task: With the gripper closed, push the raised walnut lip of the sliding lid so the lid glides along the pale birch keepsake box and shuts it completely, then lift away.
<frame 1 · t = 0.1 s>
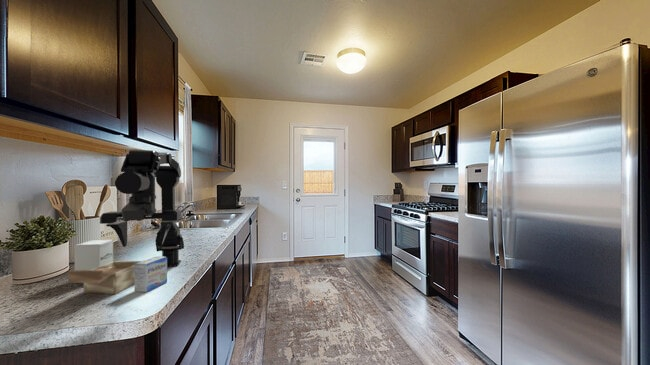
hand: (143, 245, 73), 15 cm above the countertop, fingers open, 9 cm apart
lid: (99, 271, 74), point 7 cm above the countertop, slide at 5.0 cm
medicine box: (151, 287, 79), on the countertop
birch box: (116, 285, 80), on the countertop
supplement box: (94, 279, 86), on the countertop
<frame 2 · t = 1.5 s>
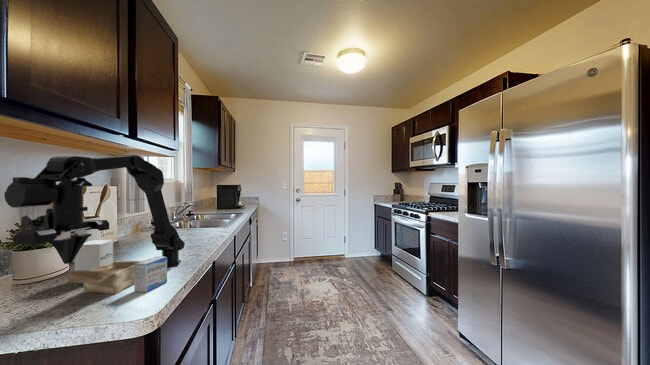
hand: (68, 263, 65), 12 cm above the countertop, fingers closed
nothing on the countertop moved.
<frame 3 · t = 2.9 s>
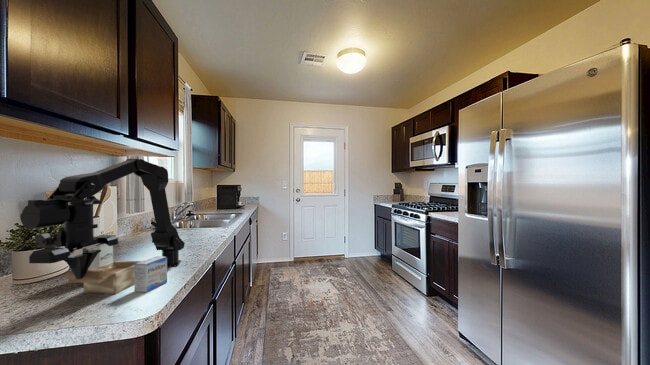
hand: (79, 278, 68), 7 cm above the countertop, fingers closed
lid: (99, 271, 74), point 7 cm above the countertop, slide at 4.9 cm, touching gripper
everything else where it was.
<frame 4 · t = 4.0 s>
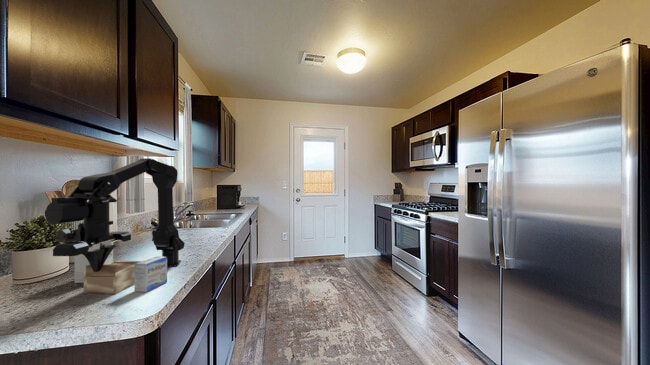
hand: (96, 271, 73), 7 cm above the countertop, fingers closed
lid: (114, 265, 79), point 7 cm above the countertop, slide at 0.1 cm, touching gripper
everything else where it was.
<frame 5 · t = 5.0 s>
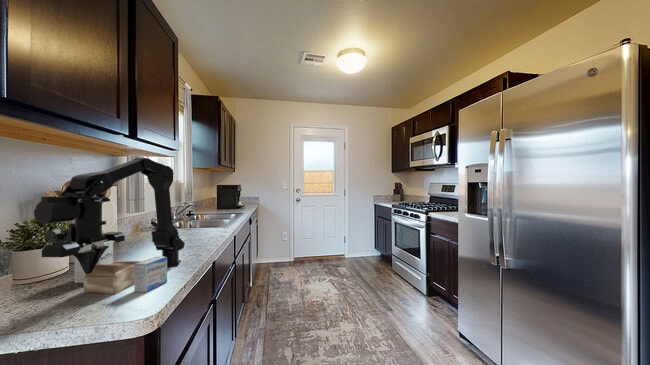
hand: (88, 273, 71), 7 cm above the countertop, fingers closed
lid: (114, 265, 79), point 7 cm above the countertop, slide at 0.0 cm
everything else where it was.
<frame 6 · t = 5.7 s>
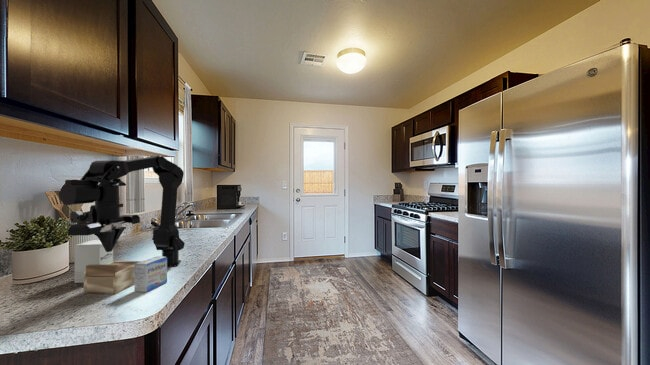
hand: (108, 251, 77), 12 cm above the countertop, fingers closed
nothing on the countertop moved.
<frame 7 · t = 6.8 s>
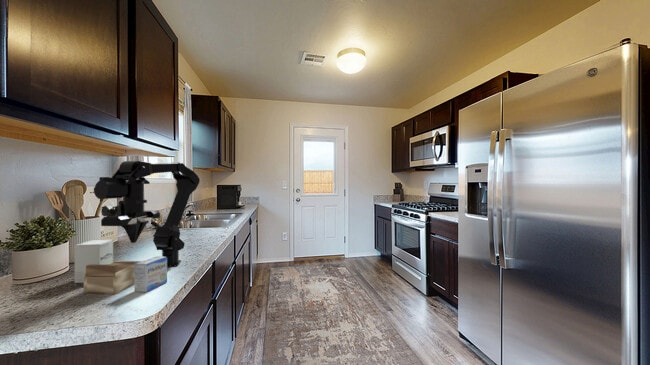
hand: (133, 242, 85), 13 cm above the countertop, fingers closed
nothing on the countertop moved.
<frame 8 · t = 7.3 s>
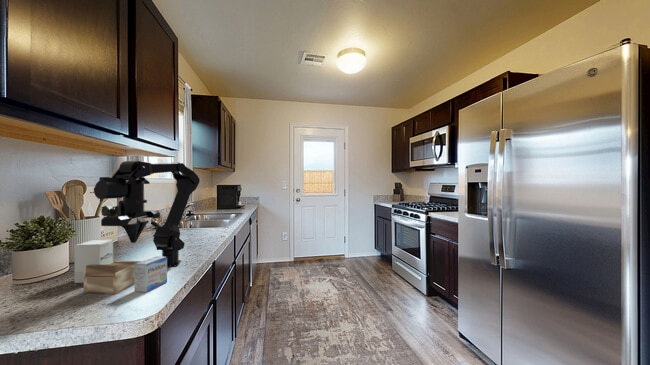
hand: (133, 242, 85), 13 cm above the countertop, fingers closed
nothing on the countertop moved.
at the end: lid slide at 0.0 cm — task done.
